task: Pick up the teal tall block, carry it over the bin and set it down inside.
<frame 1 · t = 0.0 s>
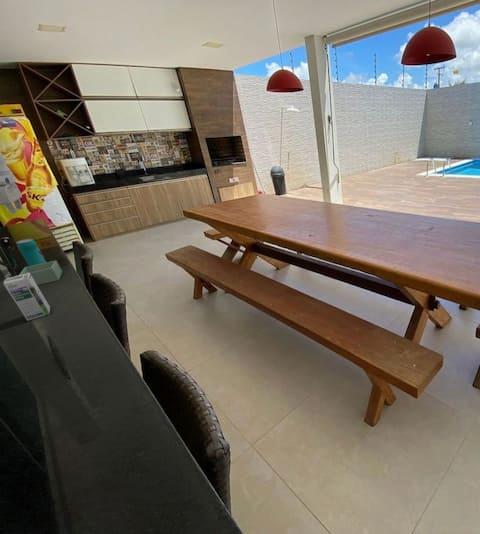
hand: (17, 211, 136), 26 cm above the countertop, tool pointing down, fingers open, 8 cm apart
syrup box: (39, 315, 106), on the countertop
teal tall block: (42, 271, 140), on the countertop
bin: (45, 279, 131), on the countertop
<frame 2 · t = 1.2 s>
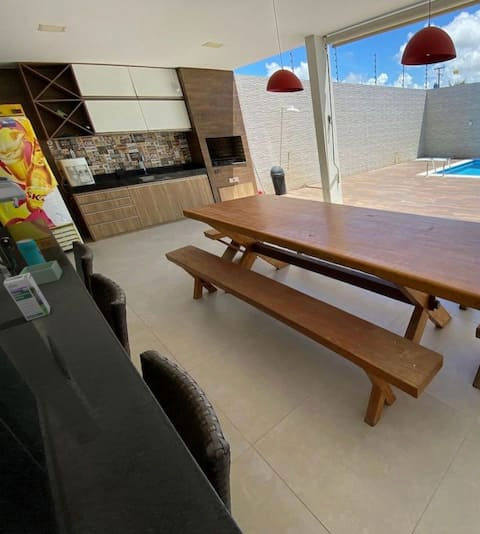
hand: (2, 209, 134), 27 cm above the countertop, tool tilted 45°, fingers open, 8 cm apart
nothing on the countertop moved.
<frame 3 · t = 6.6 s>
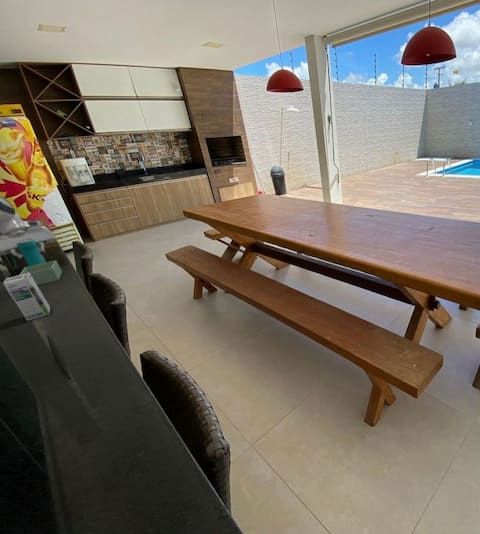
hand: (32, 254, 136), 8 cm above the countertop, tool tilted 45°, fingers closed on teal tall block, 5 cm apart
teal tall block: (42, 271, 140), on the countertop, touching gripper
everything else where it was.
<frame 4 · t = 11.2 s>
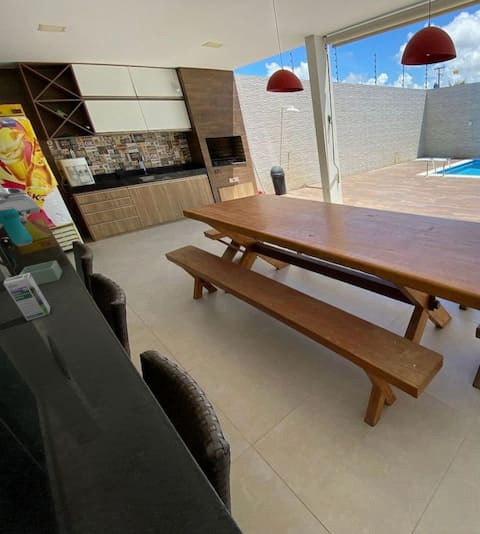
hand: (14, 224, 122), 24 cm above the countertop, tool tilted 45°, fingers closed on teal tall block, 5 cm apart
teal tall block: (25, 244, 126), point 16 cm above the countertop, touching gripper
everything else where it was.
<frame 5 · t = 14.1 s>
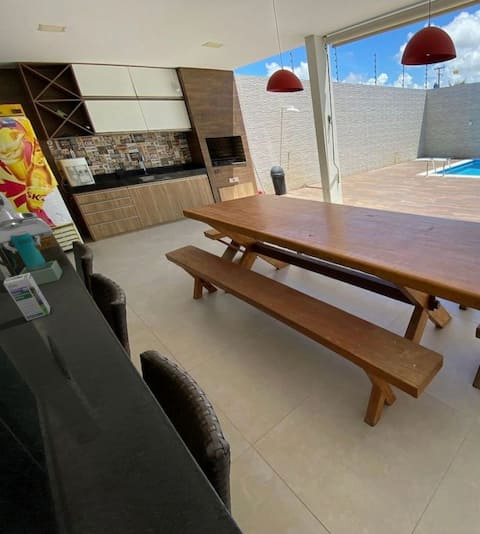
hand: (28, 249, 125), 14 cm above the countertop, tool tilted 45°, fingers closed on teal tall block, 5 cm apart
teal tall block: (38, 267, 129), point 6 cm above the countertop, touching gripper
everything else where it was.
when the fingers open (9 cm above the countertop, at t = 16.1 s): teal tall block stays where it is, resting on bin.
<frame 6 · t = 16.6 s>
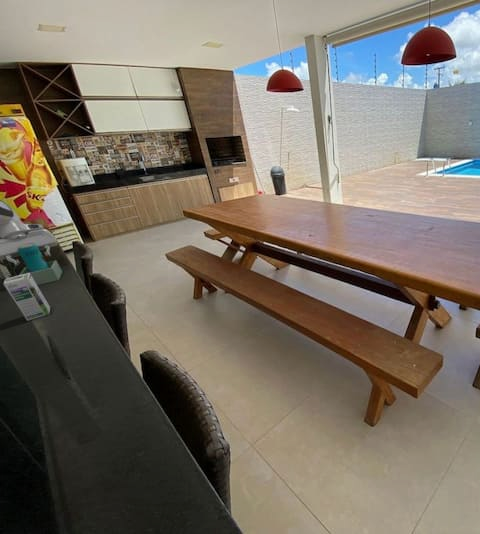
hand: (34, 260, 127), 9 cm above the countertop, tool tilted 45°, fingers open, 8 cm apart
teal tall block: (44, 278, 131), point 1 cm above the countertop, touching bin
everything else where it was.
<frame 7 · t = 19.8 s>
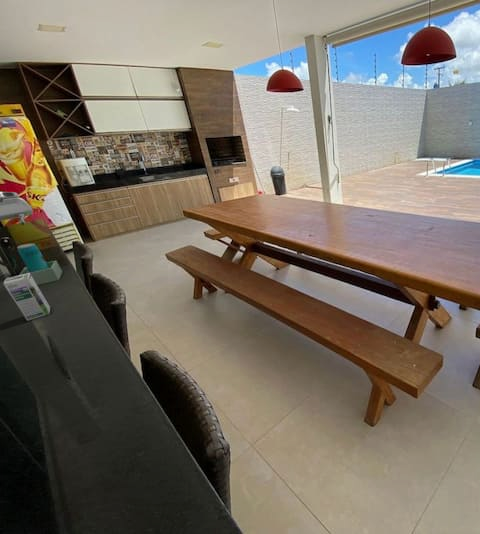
hand: (7, 227, 128), 22 cm above the countertop, tool tilted 45°, fingers open, 8 cm apart
nothing on the countertop moved.
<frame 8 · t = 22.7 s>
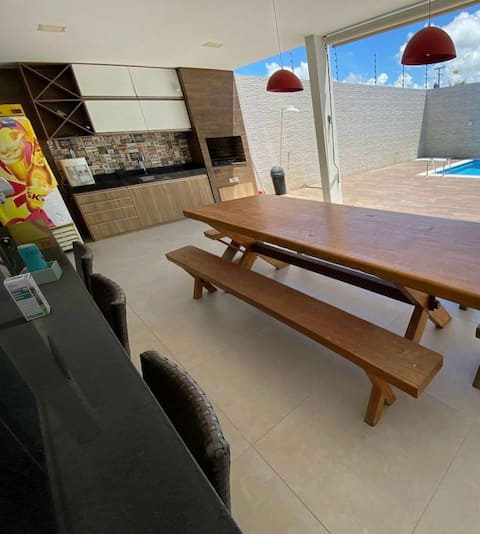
nothing on the countertop moved.
at the end: teal tall block 0.0 cm off-centre in the bin, point 0.6 cm above the bin's base; teal tall block tilted 0°; the gripper is holding nothing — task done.
